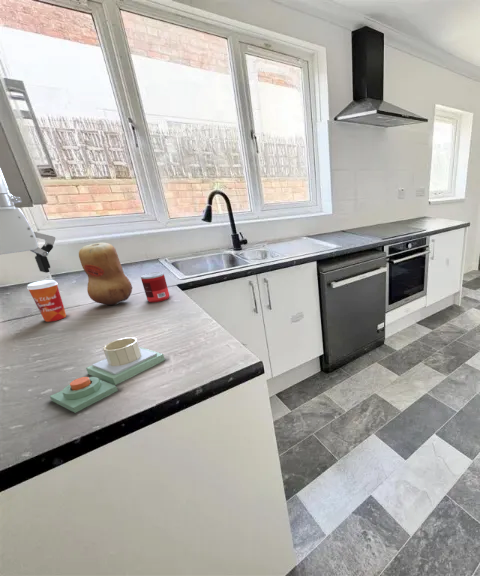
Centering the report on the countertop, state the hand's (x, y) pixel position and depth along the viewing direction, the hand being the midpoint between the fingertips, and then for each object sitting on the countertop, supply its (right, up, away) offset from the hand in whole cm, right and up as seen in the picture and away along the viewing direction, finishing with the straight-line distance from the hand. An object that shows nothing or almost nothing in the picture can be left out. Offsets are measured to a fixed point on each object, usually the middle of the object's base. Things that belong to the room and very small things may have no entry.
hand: (17, 276), depth 73 cm
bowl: (+19, -21, +8) cm, 30 cm away
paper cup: (-34, -14, +40) cm, 54 cm away
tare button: (+18, -25, -3) cm, 31 cm away
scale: (+19, -24, +9) cm, 32 cm away
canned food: (-8, -8, +57) cm, 59 cm away
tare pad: (+18, -28, -2) cm, 33 cm away
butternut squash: (-23, -9, +53) cm, 59 cm away
